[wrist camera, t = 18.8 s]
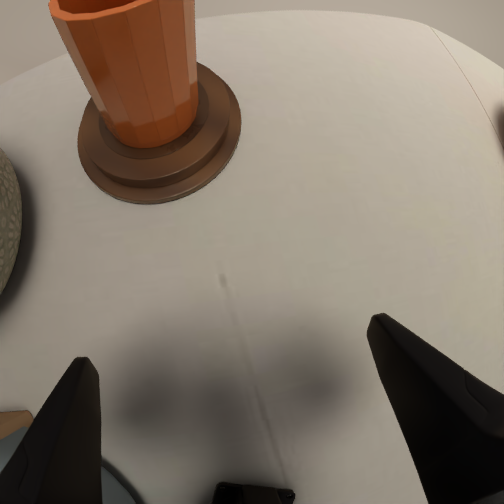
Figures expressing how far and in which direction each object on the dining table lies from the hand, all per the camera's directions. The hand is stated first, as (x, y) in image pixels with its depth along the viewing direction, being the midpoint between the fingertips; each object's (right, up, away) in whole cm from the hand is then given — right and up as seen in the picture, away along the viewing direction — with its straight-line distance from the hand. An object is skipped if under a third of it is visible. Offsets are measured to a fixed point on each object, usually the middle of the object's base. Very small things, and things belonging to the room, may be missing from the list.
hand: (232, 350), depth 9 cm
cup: (-7, +14, +13) cm, 20 cm away
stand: (-7, +13, +15) cm, 22 cm away
